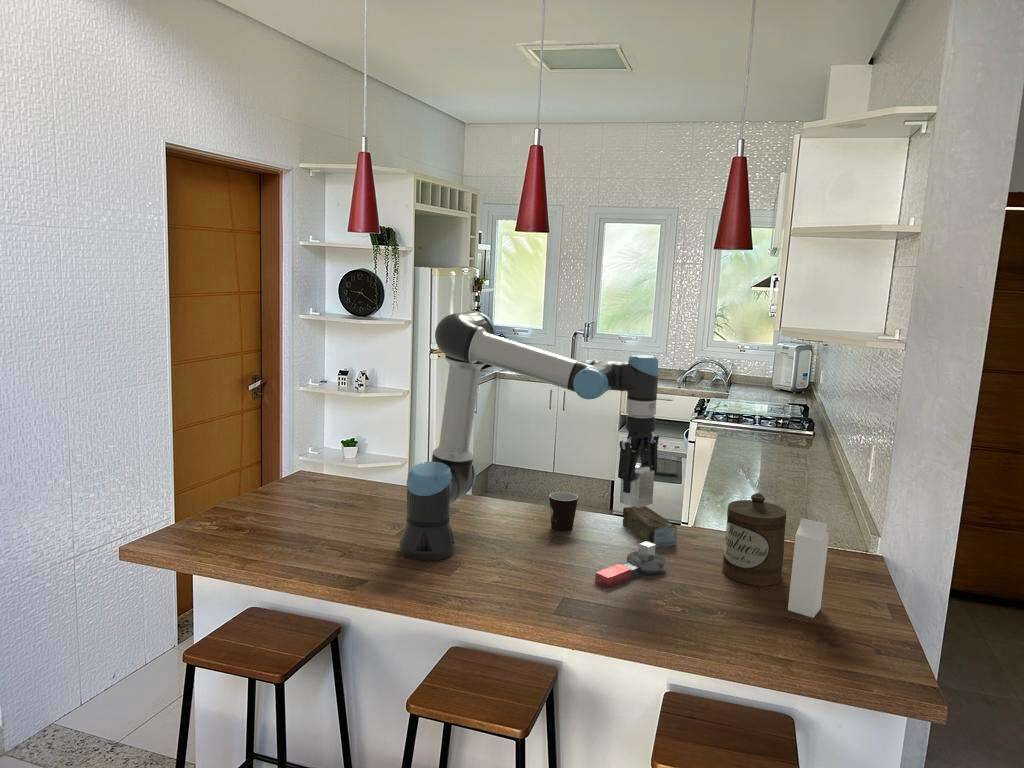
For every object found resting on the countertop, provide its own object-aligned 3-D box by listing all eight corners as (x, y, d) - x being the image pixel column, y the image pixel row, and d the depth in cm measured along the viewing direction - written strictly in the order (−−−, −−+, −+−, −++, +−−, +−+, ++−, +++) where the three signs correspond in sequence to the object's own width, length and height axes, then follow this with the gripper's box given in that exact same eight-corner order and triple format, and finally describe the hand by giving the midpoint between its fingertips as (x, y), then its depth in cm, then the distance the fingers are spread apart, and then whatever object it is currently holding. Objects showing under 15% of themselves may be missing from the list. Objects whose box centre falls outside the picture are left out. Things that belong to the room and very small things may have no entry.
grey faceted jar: (638, 508, 195) (640, 470, 193) (619, 502, 199) (621, 465, 198) (652, 503, 199) (654, 466, 197) (634, 498, 203) (636, 461, 202)
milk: (795, 602, 184) (804, 514, 181) (821, 609, 181) (830, 520, 177) (787, 610, 179) (796, 521, 176) (813, 618, 176) (823, 527, 172)
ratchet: (616, 591, 186) (618, 566, 185) (586, 578, 193) (587, 554, 192) (672, 568, 201) (674, 545, 200) (642, 557, 208) (643, 534, 207)
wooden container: (710, 570, 201) (717, 490, 198) (744, 559, 210) (751, 482, 207) (758, 591, 190) (766, 506, 186) (792, 578, 199) (801, 497, 195)
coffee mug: (574, 534, 223) (576, 502, 222) (545, 531, 225) (547, 499, 223) (579, 521, 235) (580, 490, 233) (551, 518, 236) (553, 487, 235)
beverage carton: (652, 548, 216) (654, 526, 215) (620, 526, 233) (622, 505, 232) (676, 546, 218) (678, 524, 217) (643, 524, 236) (645, 503, 235)
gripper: (629, 422, 186) (624, 512, 190) (674, 413, 199) (669, 498, 203) (605, 417, 192) (601, 505, 195) (651, 408, 205) (647, 491, 208)
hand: (636, 501), depth 199 cm, fingers closed on grey faceted jar, 6 cm apart
